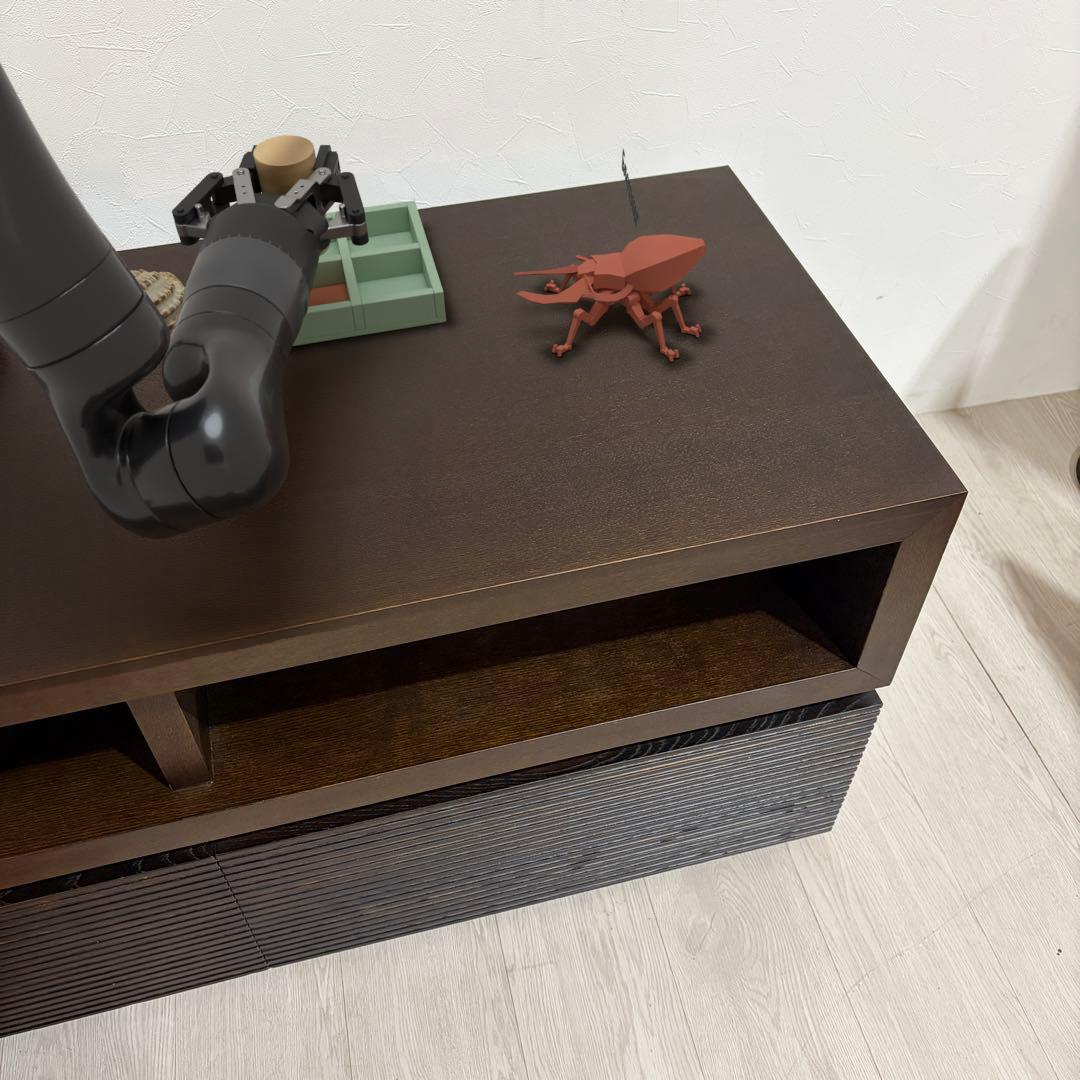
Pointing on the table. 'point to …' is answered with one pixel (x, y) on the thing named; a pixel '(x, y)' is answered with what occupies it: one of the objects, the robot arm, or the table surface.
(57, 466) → the table surface
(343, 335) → the grid
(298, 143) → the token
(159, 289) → the seashell
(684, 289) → the beetle
